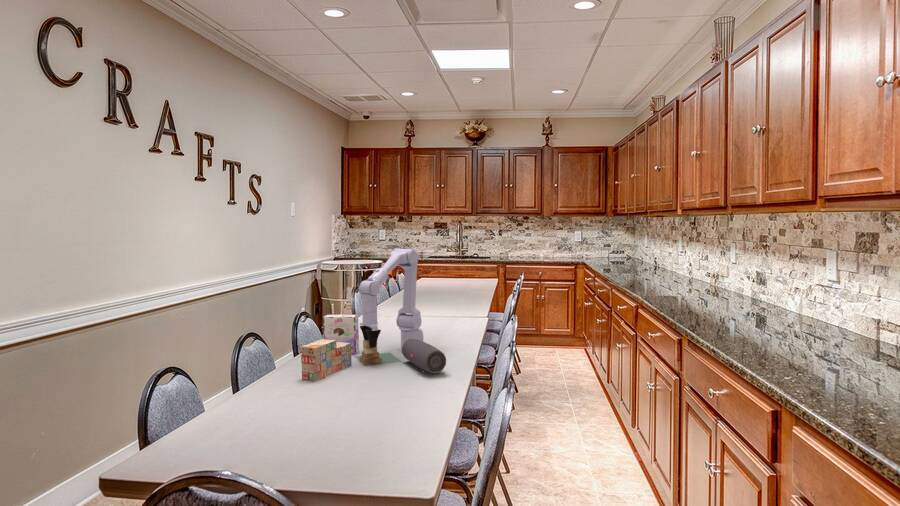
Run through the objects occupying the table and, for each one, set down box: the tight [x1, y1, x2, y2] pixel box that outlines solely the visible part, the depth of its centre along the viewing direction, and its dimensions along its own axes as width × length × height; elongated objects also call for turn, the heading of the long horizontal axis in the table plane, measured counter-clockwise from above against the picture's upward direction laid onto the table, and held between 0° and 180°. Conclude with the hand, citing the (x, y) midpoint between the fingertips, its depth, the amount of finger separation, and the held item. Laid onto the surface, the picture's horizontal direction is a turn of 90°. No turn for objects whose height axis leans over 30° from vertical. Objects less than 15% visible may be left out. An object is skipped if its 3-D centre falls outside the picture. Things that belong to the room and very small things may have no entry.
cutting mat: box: [354, 352, 402, 367], centre depth 221 cm, size 15×16×1 cm
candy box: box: [322, 314, 360, 356], centre depth 231 cm, size 14×6×16 cm, turn 84°
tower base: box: [359, 355, 382, 366], centre depth 216 cm, size 7×7×2 cm
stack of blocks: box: [300, 338, 353, 382], centre depth 203 cm, size 21×6×12 cm, turn 154°
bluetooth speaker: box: [401, 339, 447, 374], centre depth 207 cm, size 23×9×10 cm, turn 27°
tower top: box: [361, 350, 379, 360], centre depth 215 cm, size 6×6×2 cm
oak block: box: [362, 339, 378, 354], centre depth 215 cm, size 4×4×4 cm
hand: (370, 345), depth 215 cm, fingers open, 7 cm apart
